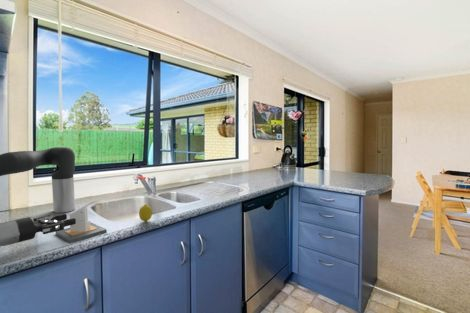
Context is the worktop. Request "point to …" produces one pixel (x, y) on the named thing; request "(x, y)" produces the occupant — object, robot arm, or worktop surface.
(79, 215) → the white wedge bracket
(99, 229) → the mounting plate
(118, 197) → the worktop surface
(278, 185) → the worktop surface
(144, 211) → the lemon
